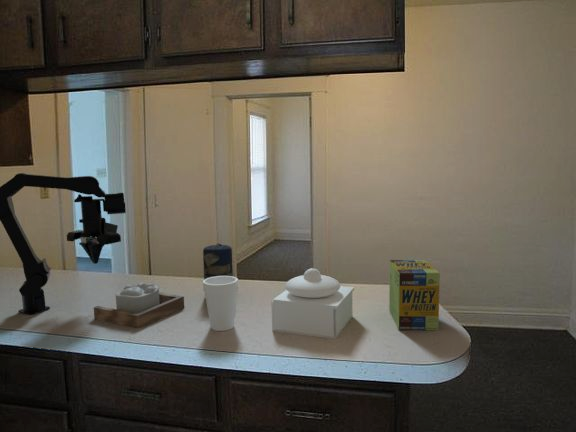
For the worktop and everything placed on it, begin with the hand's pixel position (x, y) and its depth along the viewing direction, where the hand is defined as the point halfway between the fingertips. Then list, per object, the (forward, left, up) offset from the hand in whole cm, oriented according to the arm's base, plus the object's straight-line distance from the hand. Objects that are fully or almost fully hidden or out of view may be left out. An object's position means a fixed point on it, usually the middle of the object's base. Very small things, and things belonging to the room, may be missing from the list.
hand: (95, 263), depth 146 cm
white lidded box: (+72, +11, -13) cm, 74 cm away
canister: (+33, +21, -13) cm, 41 cm away
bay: (+20, -2, -13) cm, 24 cm away
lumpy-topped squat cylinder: (+21, -2, -13) cm, 25 cm away
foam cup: (+50, -1, -13) cm, 52 cm away
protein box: (+96, +25, -13) cm, 100 cm away
